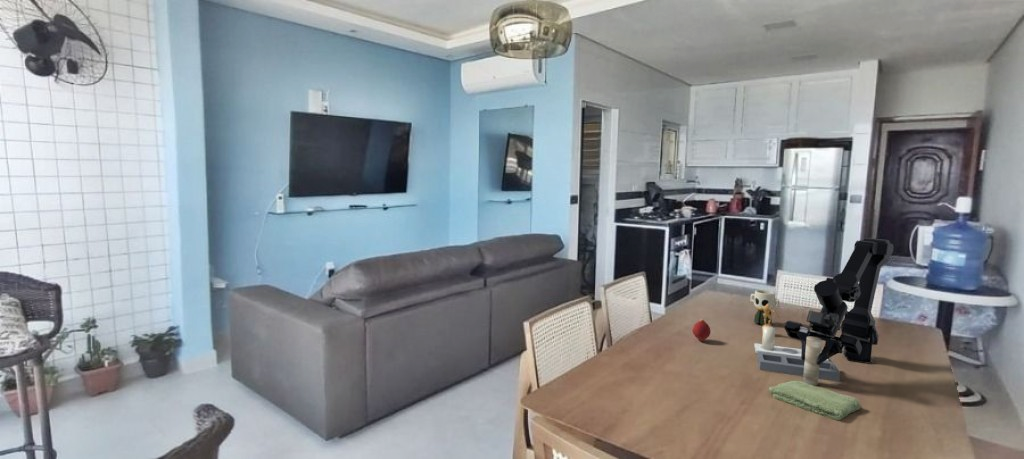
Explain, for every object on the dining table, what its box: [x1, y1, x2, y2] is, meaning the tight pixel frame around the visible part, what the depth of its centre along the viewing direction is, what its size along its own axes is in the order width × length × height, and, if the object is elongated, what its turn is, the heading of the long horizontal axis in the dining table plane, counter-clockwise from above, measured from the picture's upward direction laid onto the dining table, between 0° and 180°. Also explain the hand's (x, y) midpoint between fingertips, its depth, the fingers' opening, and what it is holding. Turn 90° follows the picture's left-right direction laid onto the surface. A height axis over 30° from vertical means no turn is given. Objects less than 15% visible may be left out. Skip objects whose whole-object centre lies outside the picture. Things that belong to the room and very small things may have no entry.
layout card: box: [753, 326, 830, 361], centre depth 161 cm, size 20×8×8 cm, turn 68°
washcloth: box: [768, 380, 862, 421], centre depth 127 cm, size 13×18×3 cm
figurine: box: [754, 304, 780, 333], centre depth 180 cm, size 8×6×12 cm
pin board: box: [756, 352, 841, 382], centre depth 148 cm, size 20×9×2 cm, turn 68°
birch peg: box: [802, 336, 823, 387], centre depth 138 cm, size 4×4×13 cm
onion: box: [692, 318, 711, 342], centre depth 172 cm, size 6×6×8 cm
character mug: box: [749, 289, 780, 326], centre depth 193 cm, size 11×7×13 cm, turn 39°
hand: (809, 361), depth 137 cm, fingers closed on birch peg, 4 cm apart
